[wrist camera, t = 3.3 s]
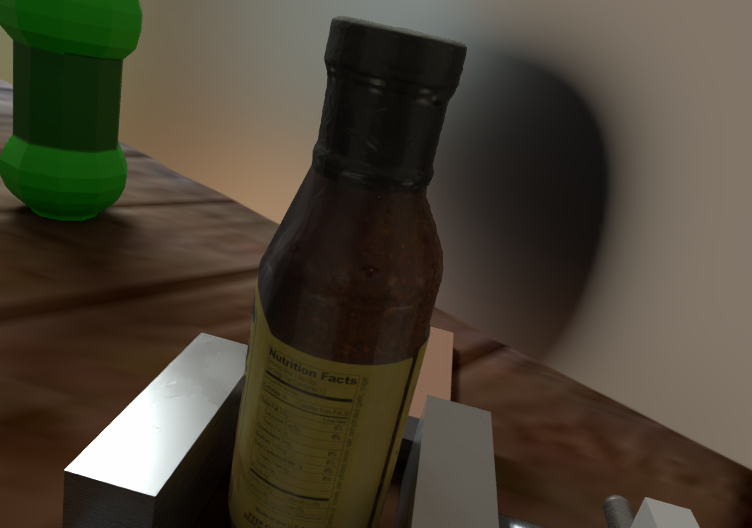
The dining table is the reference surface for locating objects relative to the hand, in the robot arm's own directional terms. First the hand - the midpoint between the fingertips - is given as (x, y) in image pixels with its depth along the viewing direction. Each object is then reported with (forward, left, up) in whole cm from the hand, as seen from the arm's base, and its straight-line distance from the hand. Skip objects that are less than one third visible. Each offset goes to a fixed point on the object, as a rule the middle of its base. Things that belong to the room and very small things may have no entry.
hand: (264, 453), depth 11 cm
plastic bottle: (-29, +37, -12) cm, 49 cm away
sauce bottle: (0, +10, -12) cm, 16 cm away
